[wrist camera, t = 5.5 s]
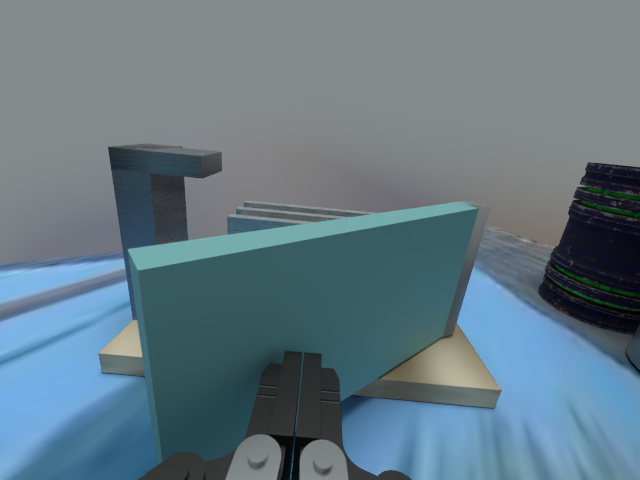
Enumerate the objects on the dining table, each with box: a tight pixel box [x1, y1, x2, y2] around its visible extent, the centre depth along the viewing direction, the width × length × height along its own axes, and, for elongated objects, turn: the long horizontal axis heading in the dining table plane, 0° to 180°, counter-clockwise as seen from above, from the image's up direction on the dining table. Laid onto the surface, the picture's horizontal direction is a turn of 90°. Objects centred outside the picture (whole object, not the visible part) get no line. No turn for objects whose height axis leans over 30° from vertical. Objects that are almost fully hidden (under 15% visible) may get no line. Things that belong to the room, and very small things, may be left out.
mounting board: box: [98, 320, 501, 408], centre depth 27 cm, size 25×18×2 cm
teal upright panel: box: [128, 200, 490, 465], centre depth 17 cm, size 21×2×10 cm, turn 129°
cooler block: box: [108, 144, 377, 320], centre depth 25 cm, size 20×12×12 cm, turn 89°
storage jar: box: [538, 163, 640, 334], centre depth 31 cm, size 10×10×15 cm
